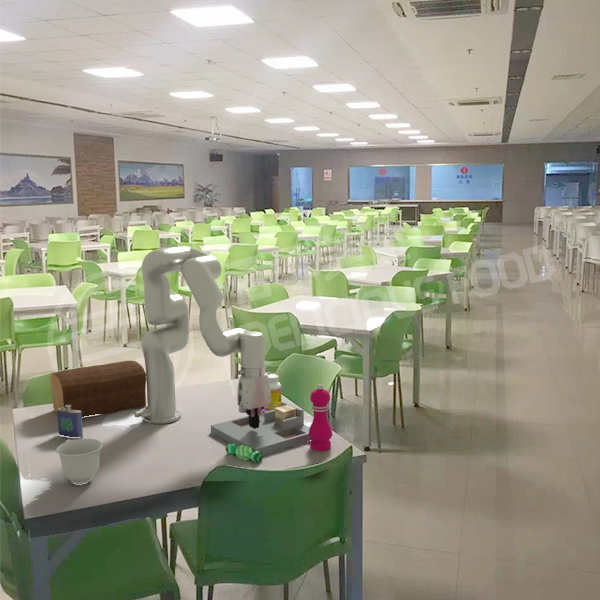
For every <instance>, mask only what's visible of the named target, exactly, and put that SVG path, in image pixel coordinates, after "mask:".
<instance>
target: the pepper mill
mask: <svg viewBox="0 0 600 600" xmlns="http://www.w3.org/2000/svg"><path fill="white" fill-rule="evenodd" d="M316 387H317V388H316V389H313V390H312V392H311V393H310V399H309V400H310V402H311V403H312V404H311V410H312V411H313V419H312V421H311V424H310V426H309V427H310V429H309V437H310V438H311V441H309V442H310V449H312V450H313V451H316V450H317V451H318V452H324V451H325V452H326V451H328V450H330V449H331V447H332V444H331V443H332V441H331V439H332V437H333V429H332V426H331V424H330V421H329V418H328V410H329V406H330V405H329V402H330V400H331V394H330V392H329V391H328V390H327V389H325V388H324V385H323V384H321V383H319V384H318V385H316Z"/></svg>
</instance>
